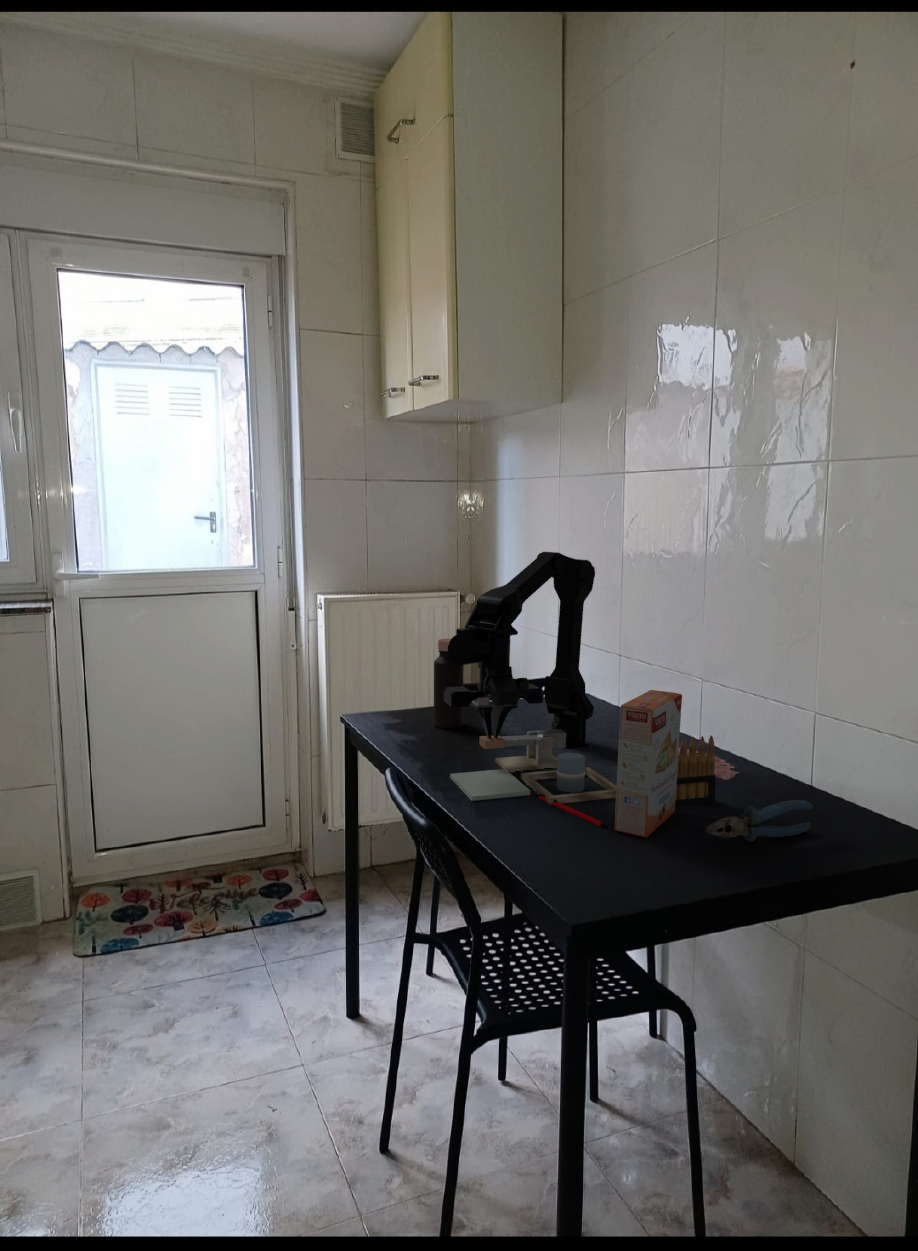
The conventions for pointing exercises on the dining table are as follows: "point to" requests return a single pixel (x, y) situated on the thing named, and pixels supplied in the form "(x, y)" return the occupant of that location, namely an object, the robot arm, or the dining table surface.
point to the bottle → (443, 678)
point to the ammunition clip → (696, 774)
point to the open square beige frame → (575, 797)
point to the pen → (574, 812)
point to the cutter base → (531, 756)
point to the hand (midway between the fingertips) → (492, 738)
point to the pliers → (751, 819)
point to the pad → (489, 784)
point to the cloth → (719, 767)
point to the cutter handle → (524, 739)
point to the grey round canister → (570, 772)
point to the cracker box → (647, 762)
